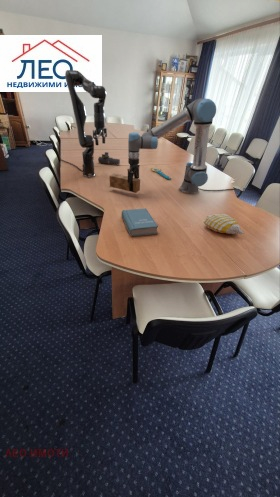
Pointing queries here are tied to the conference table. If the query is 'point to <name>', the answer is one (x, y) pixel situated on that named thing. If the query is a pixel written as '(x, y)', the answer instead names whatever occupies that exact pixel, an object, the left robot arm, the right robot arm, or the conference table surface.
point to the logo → (160, 173)
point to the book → (139, 222)
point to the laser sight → (108, 159)
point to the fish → (223, 224)
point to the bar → (124, 182)
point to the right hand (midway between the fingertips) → (133, 189)
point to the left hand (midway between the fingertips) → (100, 144)
